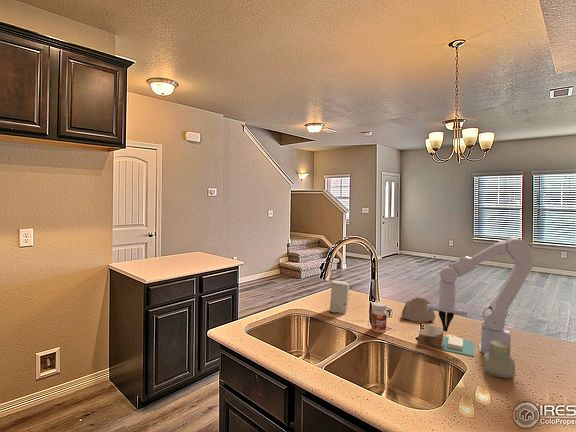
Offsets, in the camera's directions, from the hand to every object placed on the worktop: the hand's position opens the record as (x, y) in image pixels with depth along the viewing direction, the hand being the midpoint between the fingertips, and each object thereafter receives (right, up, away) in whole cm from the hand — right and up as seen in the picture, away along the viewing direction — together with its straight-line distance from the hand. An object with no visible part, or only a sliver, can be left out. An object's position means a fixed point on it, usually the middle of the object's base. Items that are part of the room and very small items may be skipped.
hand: (445, 330), depth 133 cm
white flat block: (+3, -3, -3) cm, 5 cm away
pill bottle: (-23, -4, +12) cm, 27 cm away
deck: (-5, -5, +2) cm, 7 cm away
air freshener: (+7, -7, -23) cm, 25 cm away
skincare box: (-37, -2, +35) cm, 51 cm away
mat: (+4, -5, -3) cm, 7 cm away
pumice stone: (-1, -4, +26) cm, 26 cm away
